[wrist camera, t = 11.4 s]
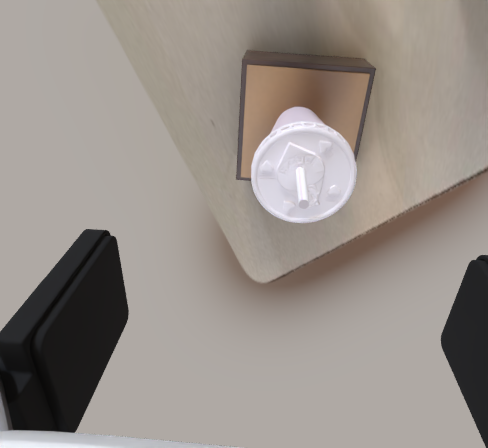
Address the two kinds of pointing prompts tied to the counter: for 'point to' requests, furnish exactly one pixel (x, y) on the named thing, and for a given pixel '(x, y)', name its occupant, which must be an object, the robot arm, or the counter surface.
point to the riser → (300, 96)
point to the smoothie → (303, 168)
